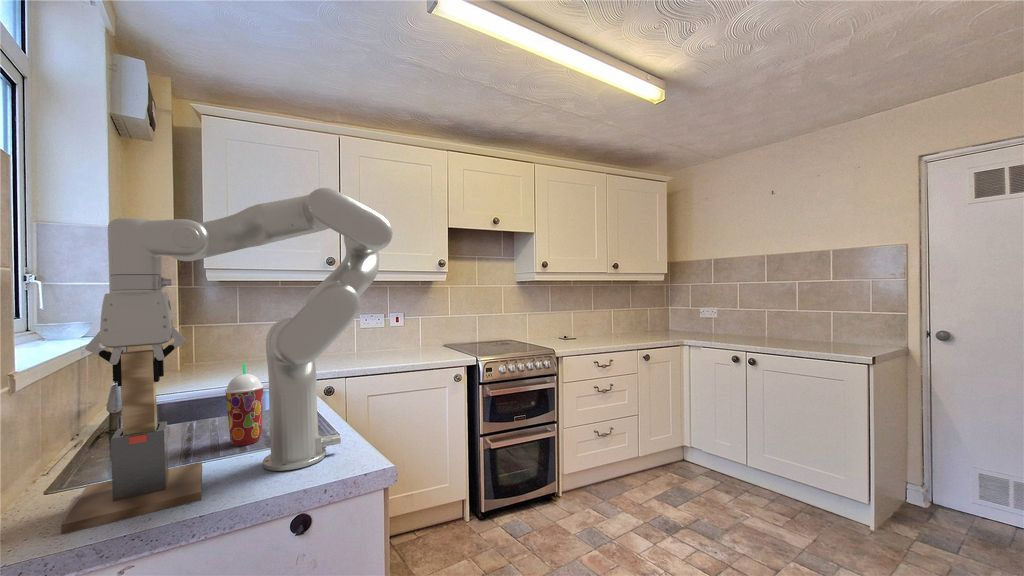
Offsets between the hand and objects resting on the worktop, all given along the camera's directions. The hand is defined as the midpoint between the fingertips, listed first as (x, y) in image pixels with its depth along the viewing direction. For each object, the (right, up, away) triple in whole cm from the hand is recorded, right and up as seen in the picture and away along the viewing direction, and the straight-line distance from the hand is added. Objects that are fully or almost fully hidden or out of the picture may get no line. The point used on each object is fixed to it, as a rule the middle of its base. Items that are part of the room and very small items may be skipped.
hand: (139, 382), depth 82 cm
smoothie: (+2, -22, +29) cm, 36 cm away
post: (0, -12, 0) cm, 12 cm away
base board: (+1, -21, 0) cm, 21 cm away
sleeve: (+1, -20, 0) cm, 20 cm away
